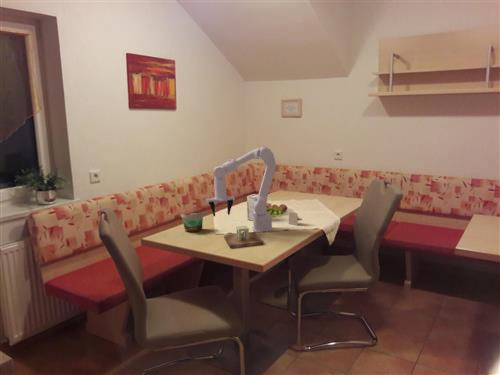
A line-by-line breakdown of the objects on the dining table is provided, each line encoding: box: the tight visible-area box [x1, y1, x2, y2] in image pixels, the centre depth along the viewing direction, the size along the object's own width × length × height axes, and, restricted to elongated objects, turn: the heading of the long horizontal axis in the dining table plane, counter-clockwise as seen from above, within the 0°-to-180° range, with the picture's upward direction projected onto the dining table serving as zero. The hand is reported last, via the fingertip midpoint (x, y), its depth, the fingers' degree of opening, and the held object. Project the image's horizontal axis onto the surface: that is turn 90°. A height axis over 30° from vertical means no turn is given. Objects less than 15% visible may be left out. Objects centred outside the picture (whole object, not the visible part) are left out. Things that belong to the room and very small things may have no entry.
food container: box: [180, 211, 205, 234], centre depth 222 cm, size 12×6×10 cm, turn 105°
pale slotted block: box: [235, 225, 250, 240], centre depth 203 cm, size 5×5×6 cm
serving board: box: [223, 231, 264, 249], centre depth 204 cm, size 16×16×2 cm
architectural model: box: [288, 211, 303, 227], centre depth 228 cm, size 3×7×7 cm, turn 51°
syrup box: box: [246, 193, 258, 222], centre depth 239 cm, size 6×6×14 cm
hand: (221, 215), depth 218 cm, fingers open, 7 cm apart
